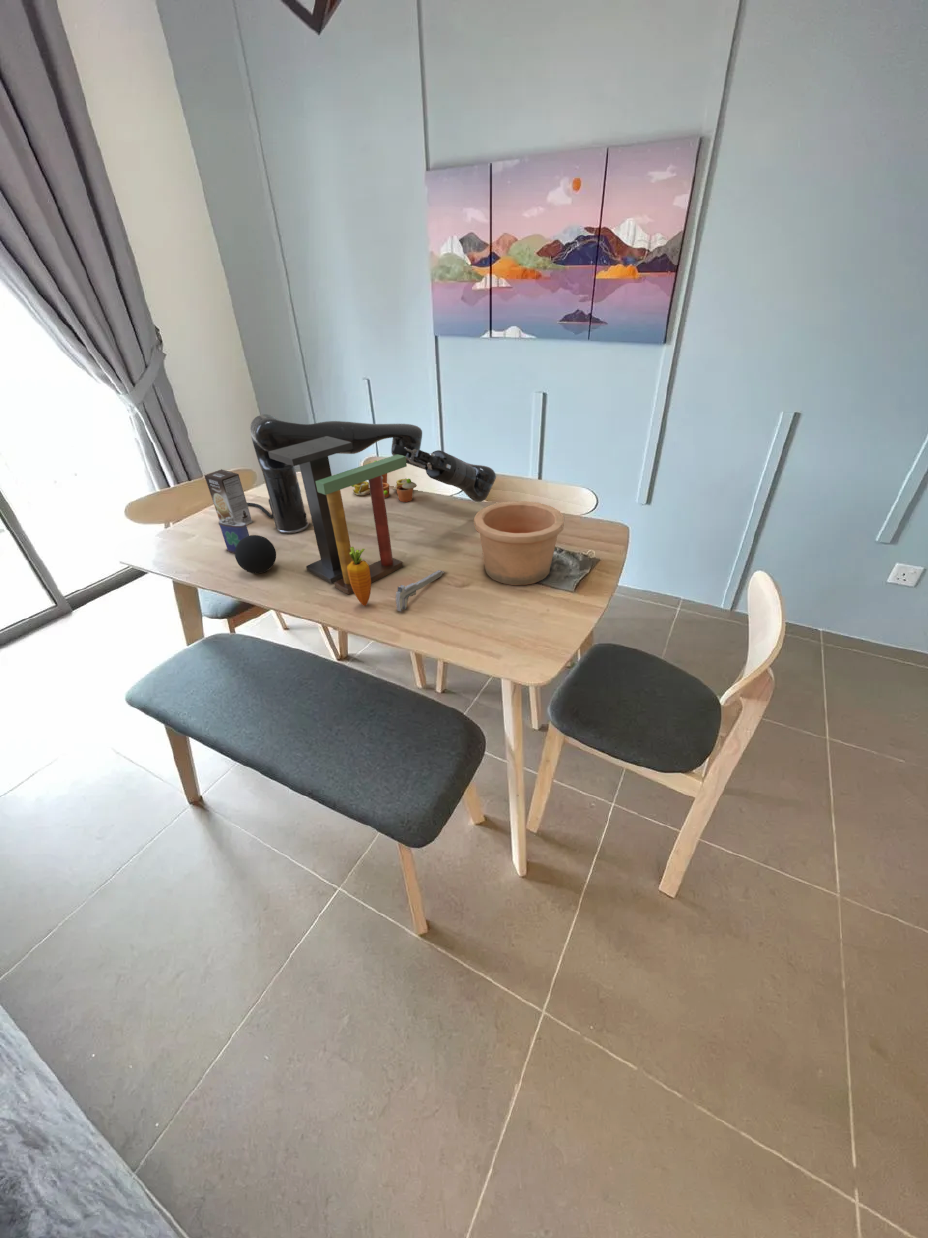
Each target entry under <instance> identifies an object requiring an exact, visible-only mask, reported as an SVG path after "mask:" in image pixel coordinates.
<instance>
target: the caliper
mask: <svg viewBox="0 0 928 1238" xmlns="http://www.w3.org/2000/svg"><path fill="white" fill-rule="evenodd" d="M443 574H445V571H443V570H439V569H438V570H436V571H434V572H432V573H430V574H429V575H427V576H425V577H423V578H421V579H420V580H418V581H416V582H411V583H409V584H407V585H406V586H405V585H403V584H400V586H397V591H396V592H395V605H396V611H397V612H401V613H402V612H403V610H404V611H405V610H407V605H408V601H409V597H413V596H415V595H416V594H417V591H419V590H421V589H422V588H424V587H426V586H428V585H429V584H431V583H432V582H434V581H436V580H437V579H440V578H441V577H442V576H443Z"/></svg>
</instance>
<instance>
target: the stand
mask: <svg viewBox="0 0 928 1238" xmlns="http://www.w3.org/2000/svg"><path fill="white" fill-rule="evenodd" d="M350 449H353V446H352V442H348V441H344V440H340V439H336V438H332V437H329V436H325V437H322V438H318V439H314V440H310V441H307V442H303V443H299V444H295V445H291V446H288V447H284V448H280V449H276V450H273V451H269V452H268V453H269V457H270V458H271V459H274V460H277V461H280V462H283V463H286V464H289V465H292V466H295V467H296V466H299V470H300V475H301V479H302V484H303V487H304V493H305V497H306V501H307V505H308V509H309V514H310V518H311V523H312V527H313V532H314V536H315V540H316V544H317V550H318V554H319V557H320V559H318V560H317V561H314V562H312V563H310V564H307V565H306V566H305V567H306V571H307V572H309V573H311V574H312V575H314V576H316V577H318V578H320V579H322V580H324V581H326V582H327V583H328V584H331V585H333V584H334V582H336V581H338V580H341V579H343V574H342V569H341V565H340V560H339V555H338V550H337V545H336V540H335V535H334V530H333V525H332V520H331V515H330V510H329V506H328V501H327V496H326V495H324V494H322V493H319V492H318V491H317V487H316V482H315V481H317V480H320V479H323V478H326V477H330V476H333V475H332V470H331V464H330V459H329V457H330V456H333V455H338V454H337V453H340V452H344V451H347V450H350Z"/></svg>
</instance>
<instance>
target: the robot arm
mask: <svg viewBox="0 0 928 1238" xmlns="http://www.w3.org/2000/svg"><path fill="white" fill-rule="evenodd" d="M249 428H250V429H249V433H250V437H251V443H252V445H253V449H254V452H255V455H256V458H257V462H258V464H259V467H260V469H261V472H262V476H263V479H264V482H265V487H266V491H267V494H268V497H269V498H268V504H269V507H270V511H271V513H270V512H269V511H268V510H266V509H265V508H264V507H263V506H262V505H261V504H258V503H253V502H247V505H248V507H255V508H258V509H260V510H261V511H262V512H263V513H264V514H265V515H266V516H267V517H268V518H269V519H272V520H273V522H274V526H275V529H277V531H278V532H279V533H280V534H287V535H288V534H289V535H290V534H297V533H300V532H303V531H305V530H306V529H307V528H309V525H310V524H309V522H308V515H307V512H306V509H305V503H304V501H303V496H302V492H301V488H300V484H299V479H298V474H297V471H296V466H292V465H289V464H286V463H283V462H280V461H277V460H274V459H271V458H270V457H269V453H268V452H269V451H273V450H276V449H280V448H284V447H288V446H291V445H295V444H299V443H303V442H307V441H310V440H314V439H318V438H322V437H325V436H329V437H332V438H336V439H340V440H344V441H348V442H352V446H353V449H350V450H347V451H344V452H340V453H337V454H336V455H338V454H339V455H355V454H359V453H361V452H364V451H365V450H366V449H368V448H370V447H371V446H373V445H374V444H376V443H378V442H380V441H384V440H387V439H392V441H391V449H390V453H391V456H394V455H397V454H398V455H402V456H406V464H407V465H409V466H413V467H416V468H418V469H421V470H425V473H426V475H427V477H429V478H430V479H433V480H434V481H437V482H440V483H442V484H445V485H448V486H453V487H454V488H457V489H460V490H461V491H462V492H463V493H464V494H465V495H466V496H467V497H468V498H469V499H470V500H472V501H473V502H476V503H483V502H484V501H485V500H487V499H488V497H489V494H490V493H491V490H492V489H493V486H494V484H495V482H496V480H497V474H496V471H494V469H493V468H491V467H489V466H488V465H487V466H486V465H483V464H473V463H469V462H466V461H464V460H462V459H460V458H458V457H456V456H454V455H452V454H450V453H447V452H445V451H443V450H440V449H438V450H434V451H432V452H430V453H429V452H426V451H423V450H421V446H422V440H423V430H422V429H421V427H419V426H418V425H415V424H410V423H366V422H356V421H343V420H327V421H320V422H315V423H296V422H289V421H284V420H280V419H278V418H277V417H276V416H274V415H272V414H266V413H262V414H259V415H257V416H255V417H254V418H253V419H252V421H251V423H250V427H249Z"/></svg>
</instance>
